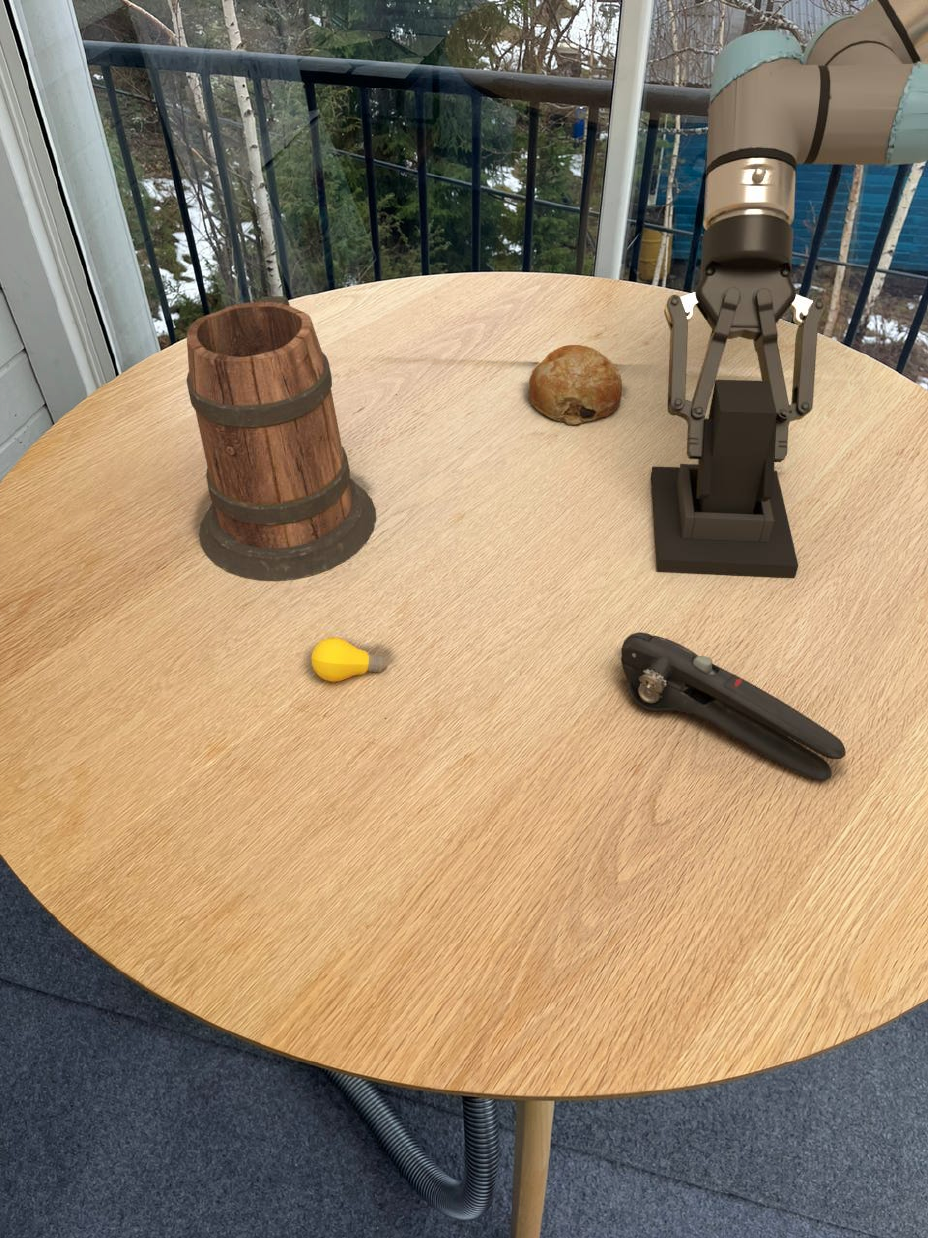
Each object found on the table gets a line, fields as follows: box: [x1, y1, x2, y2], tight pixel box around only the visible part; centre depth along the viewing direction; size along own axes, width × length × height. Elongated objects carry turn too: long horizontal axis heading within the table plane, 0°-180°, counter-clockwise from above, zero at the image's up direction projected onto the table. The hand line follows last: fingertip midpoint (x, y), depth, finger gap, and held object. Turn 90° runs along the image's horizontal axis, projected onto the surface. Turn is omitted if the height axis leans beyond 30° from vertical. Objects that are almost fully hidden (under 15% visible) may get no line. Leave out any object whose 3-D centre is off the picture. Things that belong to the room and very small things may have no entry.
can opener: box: [620, 631, 847, 782], centre depth 69 cm, size 18×7×6 cm, turn 50°
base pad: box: [650, 463, 799, 579], centre depth 86 cm, size 12×14×4 cm
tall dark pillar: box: [699, 379, 777, 514], centre depth 82 cm, size 4×5×11 cm
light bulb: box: [311, 636, 388, 682], centre depth 75 cm, size 3×6×4 cm, turn 96°
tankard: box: [186, 295, 377, 582], centre depth 85 cm, size 24×17×20 cm
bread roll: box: [528, 344, 623, 426], centre depth 102 cm, size 10×10×8 cm
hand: (733, 497), depth 81 cm, fingers closed on tall dark pillar, 4 cm apart
